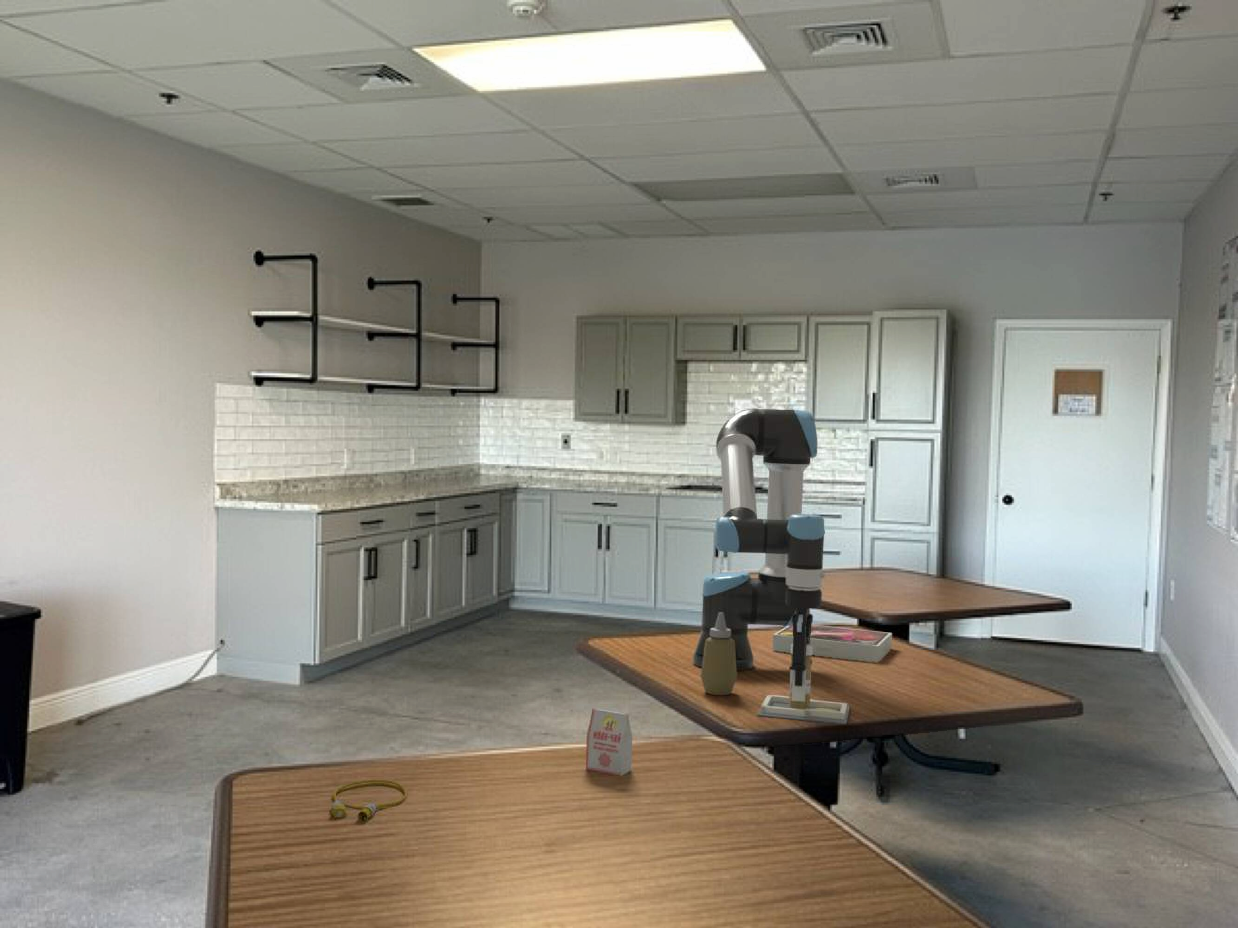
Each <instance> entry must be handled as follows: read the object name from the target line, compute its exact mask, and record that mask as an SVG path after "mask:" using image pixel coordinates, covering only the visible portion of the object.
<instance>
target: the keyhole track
mask: <svg viewBox="0 0 1238 928" xmlns="http://www.w3.org/2000/svg"><path fill="white" fill-rule="evenodd" d="M789 704H790V696H787V695H785V696H784V695H776V694H775V695H774V694H767V696H766V697H765V699H764V701H763V702H762V704H761V705H760V708H759V710H758V712H757V714H756V716H757V717H766V718H776V719H786V720H793V721H794V720H795V721H796V720H797V721H806V722H814V723H815V722H816V723H824V724H836V725H842V726H843V725H847V722H848V717H849V715H850V714H849V713H850V710H851V705H848V703H847V702H837V701H836V702H835V701H828V700H827V701H826V700H816V699H815V698H810V709H805V710H803V709H793V708H790V707H789Z"/></svg>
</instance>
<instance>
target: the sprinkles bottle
mask: <svg viewBox="0 0 1238 928" xmlns="http://www.w3.org/2000/svg"><path fill="white" fill-rule="evenodd" d="M812 652H813V647H812V646H811V645H809V644H807V647H806V663H805V667H806V669H805V670H806V687H805V702H802V701H792V676H793V670H790V669H789V670H790V672H789V673H790V674H789V697H790V704H789V707H790V708H793V709H803V710H805V709H810V699H811V693H812V691H811V689H812V688H811V683H812V665H811V661H812ZM790 656H791V657H790V667H792V658H793V644H792V645H791V653H790Z"/></svg>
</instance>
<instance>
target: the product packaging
mask: <svg viewBox="0 0 1238 928" xmlns="http://www.w3.org/2000/svg"><path fill="white" fill-rule="evenodd" d="M792 644H793V626H786V627H784V628H782V629H780V630H778V631H777V632H775V633H773V635H772V652H775V651H778V652H777V653H784V652H786V653H785V654H791V645H792ZM892 644H893V633H892V632H884V631H877V630H876V631H875V630H865V629H858V628H857V629H856V628H846V627H837V626H829V625H828V626H826V625H817V624H812V627H811V634H810V645H811V646H812V647H813V652H812V655H815V656H814V657H819V656H825V657H824V658H828V657H832V658H831V659H837V658H839V659H840V660H846V659H848V661H854V660H858V661H857V662H863V661H865V662H864V663H872V662H877V663H876V664H879V663H880V662H879V661H882V660H883V659H884V657H886V655H887V654H888V653H889V652H890V651H891V650H892V646H893V645H892ZM890 649H891V650H890ZM839 659H838V660H839ZM878 662H879V663H878Z"/></svg>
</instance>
